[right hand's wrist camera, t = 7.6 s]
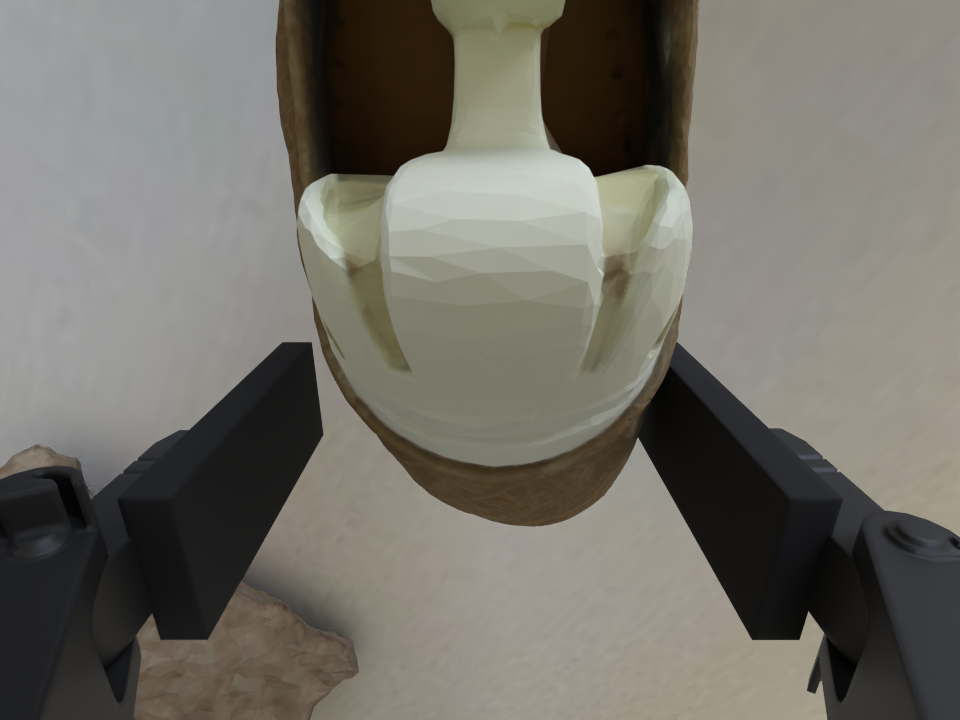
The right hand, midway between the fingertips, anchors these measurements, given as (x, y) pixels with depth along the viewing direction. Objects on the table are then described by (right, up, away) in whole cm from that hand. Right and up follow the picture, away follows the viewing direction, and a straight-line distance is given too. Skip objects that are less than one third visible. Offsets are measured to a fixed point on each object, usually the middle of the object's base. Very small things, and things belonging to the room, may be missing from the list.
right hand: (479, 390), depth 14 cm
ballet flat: (0, +8, -2) cm, 8 cm away
